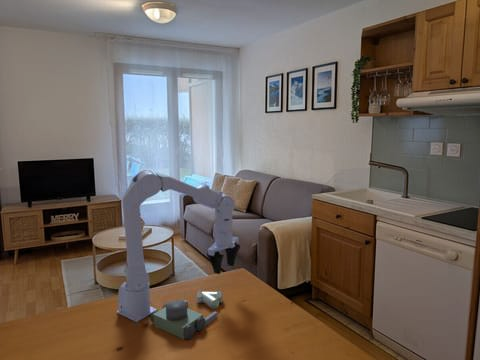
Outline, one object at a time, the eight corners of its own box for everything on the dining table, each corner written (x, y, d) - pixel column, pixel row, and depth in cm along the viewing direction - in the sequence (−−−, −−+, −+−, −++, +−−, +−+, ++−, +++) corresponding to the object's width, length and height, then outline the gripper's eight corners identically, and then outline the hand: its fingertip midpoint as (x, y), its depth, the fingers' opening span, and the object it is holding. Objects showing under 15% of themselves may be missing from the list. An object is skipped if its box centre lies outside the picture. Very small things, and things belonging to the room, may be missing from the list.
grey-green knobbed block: (150, 324, 103) (149, 303, 102) (184, 303, 115) (183, 285, 114) (186, 341, 95) (186, 319, 94) (219, 317, 107) (218, 297, 106)
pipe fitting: (220, 311, 111) (222, 299, 118) (220, 300, 110) (222, 289, 117) (195, 311, 112) (198, 299, 118) (194, 300, 111) (198, 288, 117)
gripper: (220, 238, 109) (220, 280, 111) (245, 226, 121) (245, 264, 123) (202, 234, 113) (203, 274, 115) (229, 223, 124) (229, 260, 127)
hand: (224, 269), depth 119 cm, fingers open, 7 cm apart
